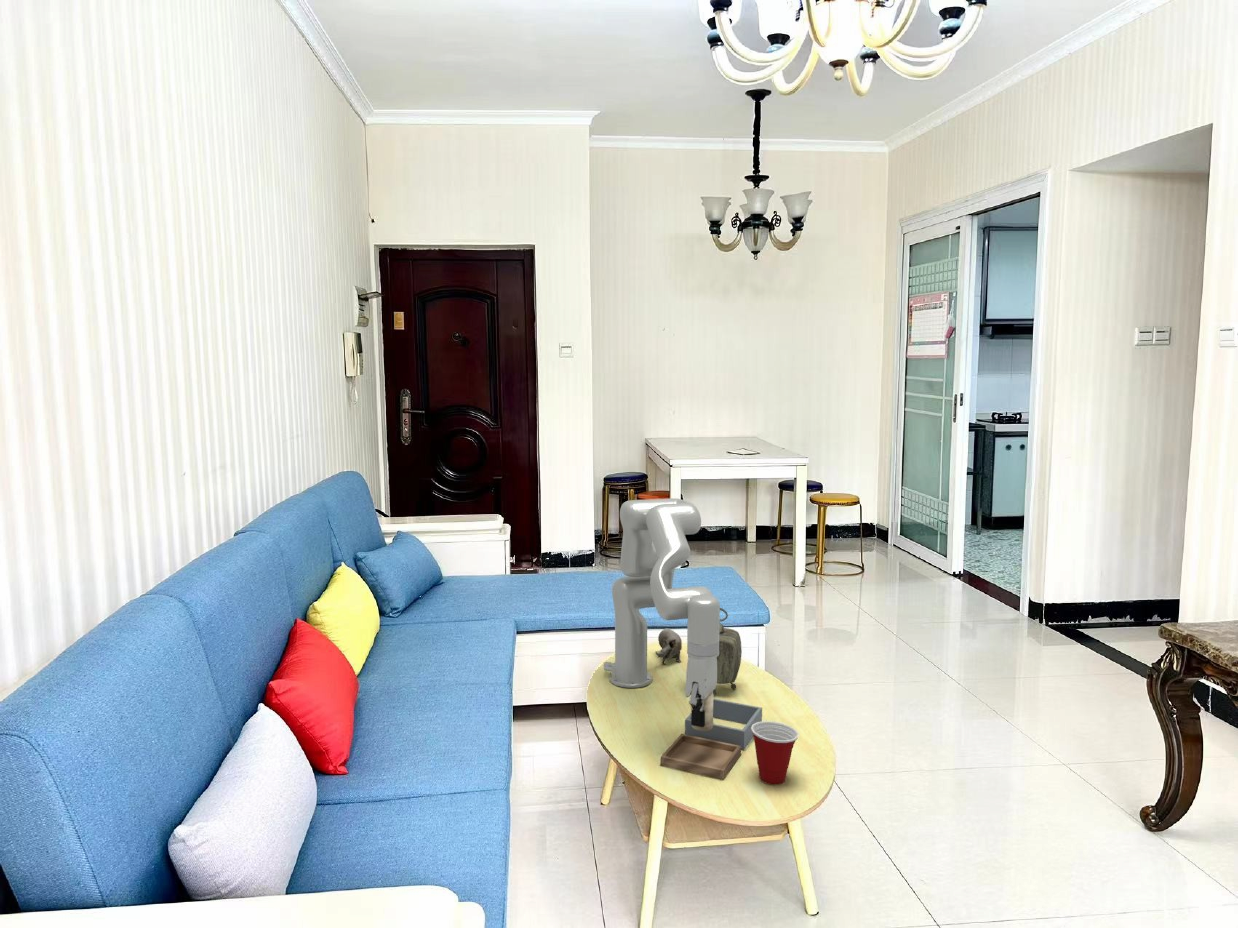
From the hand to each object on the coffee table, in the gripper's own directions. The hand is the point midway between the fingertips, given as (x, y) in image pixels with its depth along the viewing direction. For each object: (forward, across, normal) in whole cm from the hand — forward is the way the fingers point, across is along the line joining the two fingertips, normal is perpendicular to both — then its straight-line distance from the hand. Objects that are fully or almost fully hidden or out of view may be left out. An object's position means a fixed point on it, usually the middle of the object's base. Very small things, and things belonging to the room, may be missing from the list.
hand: (702, 720), depth 204 cm
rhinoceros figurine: (+10, -58, -32) cm, 67 cm away
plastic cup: (+11, +1, +18) cm, 21 cm away
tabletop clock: (+10, -41, -11) cm, 44 cm away
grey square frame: (+10, -17, 0) cm, 20 cm away
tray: (+10, 0, 0) cm, 10 cm away
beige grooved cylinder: (+1, 0, 0) cm, 1 cm away
